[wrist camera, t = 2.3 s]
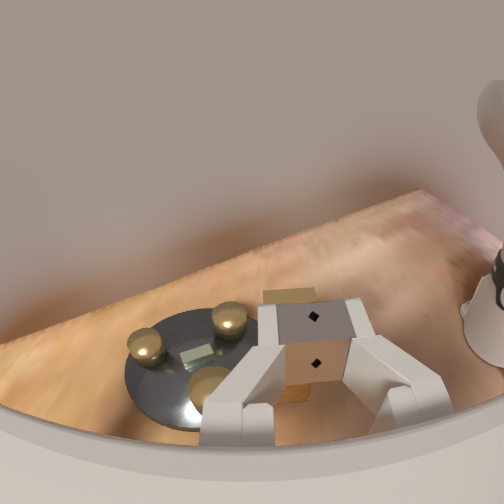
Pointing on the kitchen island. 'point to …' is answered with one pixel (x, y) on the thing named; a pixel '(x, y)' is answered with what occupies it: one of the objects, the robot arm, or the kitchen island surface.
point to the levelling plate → (184, 359)
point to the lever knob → (212, 376)
